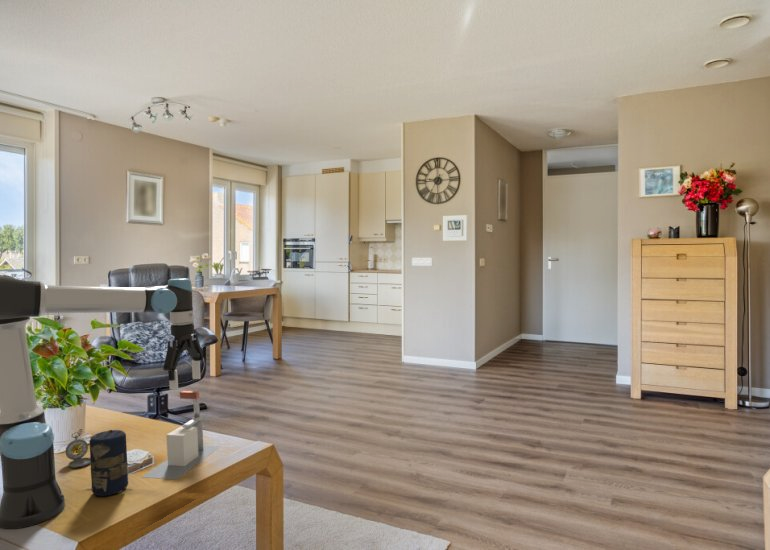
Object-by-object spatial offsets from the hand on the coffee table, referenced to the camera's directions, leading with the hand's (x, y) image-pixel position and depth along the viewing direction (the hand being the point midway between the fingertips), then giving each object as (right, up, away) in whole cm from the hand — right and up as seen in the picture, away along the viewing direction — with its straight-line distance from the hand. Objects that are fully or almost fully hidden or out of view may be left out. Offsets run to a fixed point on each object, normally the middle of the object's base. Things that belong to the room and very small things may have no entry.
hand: (185, 384), depth 176 cm
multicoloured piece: (+2, -13, -3) cm, 13 cm away
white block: (+3, -23, -9) cm, 25 cm away
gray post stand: (+3, -25, -9) cm, 26 cm away
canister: (-12, -26, -26) cm, 39 cm away
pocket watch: (-33, -26, -6) cm, 42 cm away
